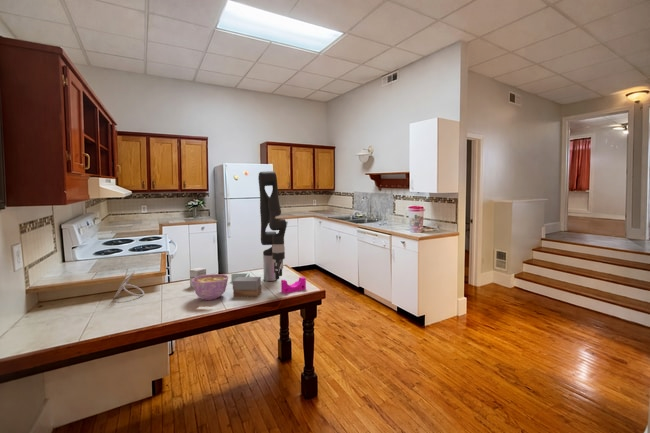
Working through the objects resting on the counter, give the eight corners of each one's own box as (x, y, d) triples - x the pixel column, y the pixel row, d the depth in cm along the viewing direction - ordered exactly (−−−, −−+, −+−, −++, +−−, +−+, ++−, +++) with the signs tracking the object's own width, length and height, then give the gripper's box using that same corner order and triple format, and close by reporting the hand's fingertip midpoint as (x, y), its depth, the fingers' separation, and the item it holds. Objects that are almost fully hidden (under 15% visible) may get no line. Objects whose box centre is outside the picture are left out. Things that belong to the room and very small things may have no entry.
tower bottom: (239, 292, 188) (239, 284, 188) (261, 292, 188) (261, 284, 187) (233, 297, 178) (233, 289, 178) (257, 298, 178) (256, 289, 177)
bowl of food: (205, 291, 190) (205, 273, 189) (235, 293, 186) (234, 274, 185) (184, 302, 170) (183, 281, 170) (217, 304, 166) (216, 283, 166)
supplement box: (189, 288, 197) (189, 269, 197) (199, 286, 204) (198, 267, 203) (197, 290, 194) (196, 270, 193) (206, 287, 200) (206, 268, 200)
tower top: (238, 284, 188) (238, 276, 188) (260, 284, 187) (260, 276, 187) (232, 289, 178) (232, 281, 178) (256, 289, 177) (256, 281, 177)
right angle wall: (231, 284, 207) (231, 273, 207) (249, 283, 208) (249, 273, 208) (227, 289, 195) (227, 277, 195) (246, 288, 196) (246, 277, 196)
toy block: (301, 287, 198) (301, 276, 198) (305, 289, 193) (305, 278, 193) (279, 291, 191) (279, 279, 190) (283, 293, 185) (283, 281, 185)
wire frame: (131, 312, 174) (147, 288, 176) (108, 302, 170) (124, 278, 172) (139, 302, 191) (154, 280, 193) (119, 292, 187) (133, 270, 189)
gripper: (275, 249, 194) (275, 275, 195) (269, 253, 180) (270, 280, 180) (286, 249, 194) (287, 275, 194) (282, 253, 179) (282, 280, 180)
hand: (278, 277), depth 187 cm, fingers open, 8 cm apart
